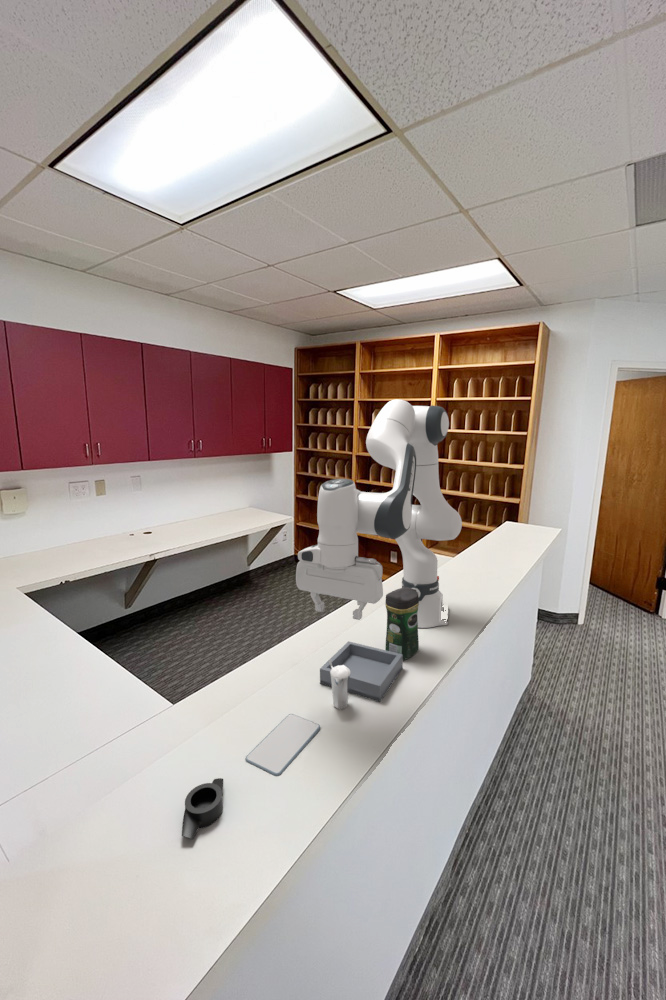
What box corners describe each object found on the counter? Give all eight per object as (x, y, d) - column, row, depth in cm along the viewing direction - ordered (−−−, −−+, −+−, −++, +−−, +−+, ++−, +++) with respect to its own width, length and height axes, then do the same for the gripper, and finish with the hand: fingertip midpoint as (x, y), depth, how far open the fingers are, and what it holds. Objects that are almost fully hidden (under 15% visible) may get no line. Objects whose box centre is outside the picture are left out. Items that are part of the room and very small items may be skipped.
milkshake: (336, 695, 98) (335, 655, 97) (354, 703, 95) (354, 663, 93) (323, 704, 95) (323, 663, 93) (342, 713, 91) (341, 671, 90)
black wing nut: (244, 807, 68) (243, 792, 68) (187, 851, 61) (186, 834, 61) (219, 781, 74) (218, 767, 73) (164, 819, 66) (163, 803, 66)
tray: (348, 654, 117) (348, 641, 116) (402, 668, 109) (402, 654, 109) (320, 683, 103) (319, 668, 102) (379, 702, 95) (379, 686, 95)
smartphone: (243, 758, 78) (289, 712, 91) (243, 763, 78) (290, 716, 91) (278, 775, 74) (321, 724, 87) (278, 780, 74) (322, 728, 87)
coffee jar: (400, 642, 124) (400, 582, 121) (422, 651, 118) (424, 589, 116) (380, 654, 117) (380, 591, 114) (403, 664, 111) (404, 598, 109)
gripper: (387, 556, 88) (387, 618, 89) (306, 545, 97) (307, 601, 99) (376, 563, 82) (376, 629, 84) (291, 552, 92) (292, 611, 94)
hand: (338, 614), depth 92 cm, fingers open, 8 cm apart
